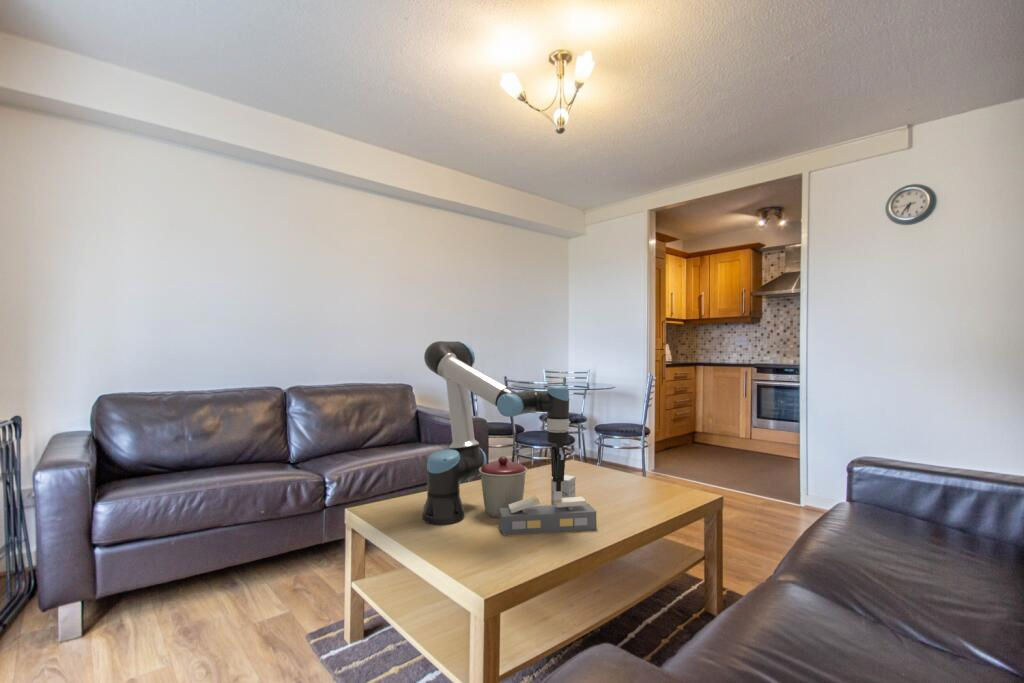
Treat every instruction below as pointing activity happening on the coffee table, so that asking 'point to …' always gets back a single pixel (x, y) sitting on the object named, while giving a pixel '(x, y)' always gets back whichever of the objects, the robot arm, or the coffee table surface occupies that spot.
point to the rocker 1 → (524, 504)
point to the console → (547, 519)
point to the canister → (502, 484)
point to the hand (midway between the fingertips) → (557, 499)
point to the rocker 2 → (570, 502)
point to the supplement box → (565, 487)
